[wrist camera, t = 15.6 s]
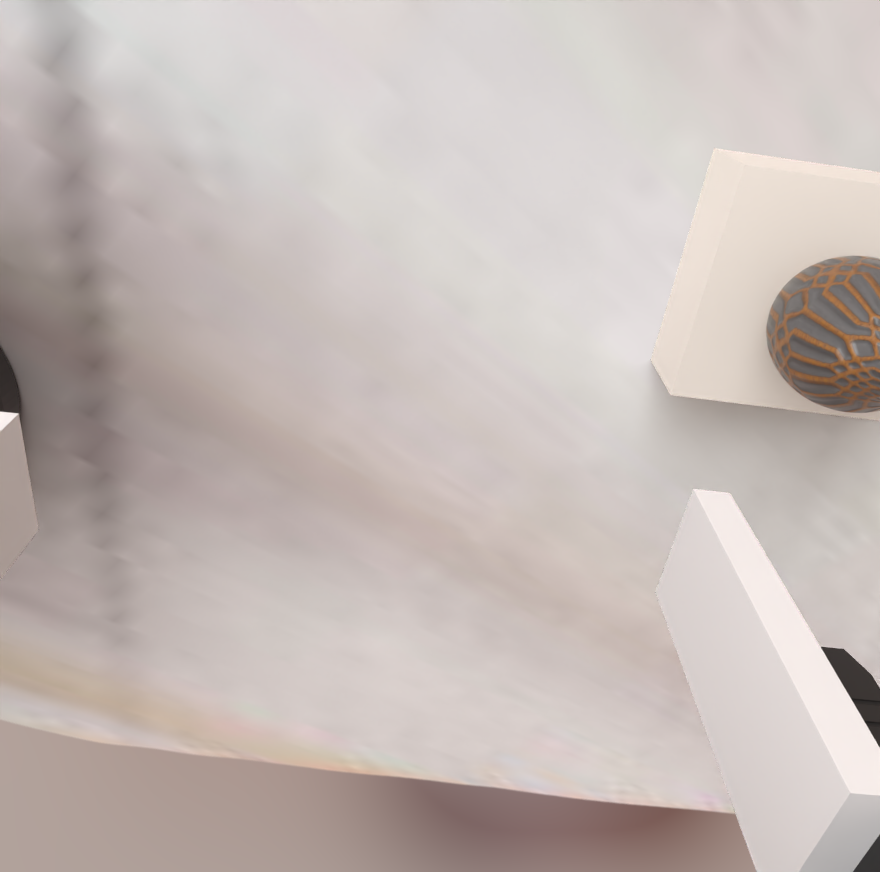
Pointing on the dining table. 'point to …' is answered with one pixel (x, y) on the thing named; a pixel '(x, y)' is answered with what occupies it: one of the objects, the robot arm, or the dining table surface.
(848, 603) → the dining table surface
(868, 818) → the robot arm
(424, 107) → the dining table surface
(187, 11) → the dining table surface
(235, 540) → the dining table surface
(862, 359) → the vase
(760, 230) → the riser block
